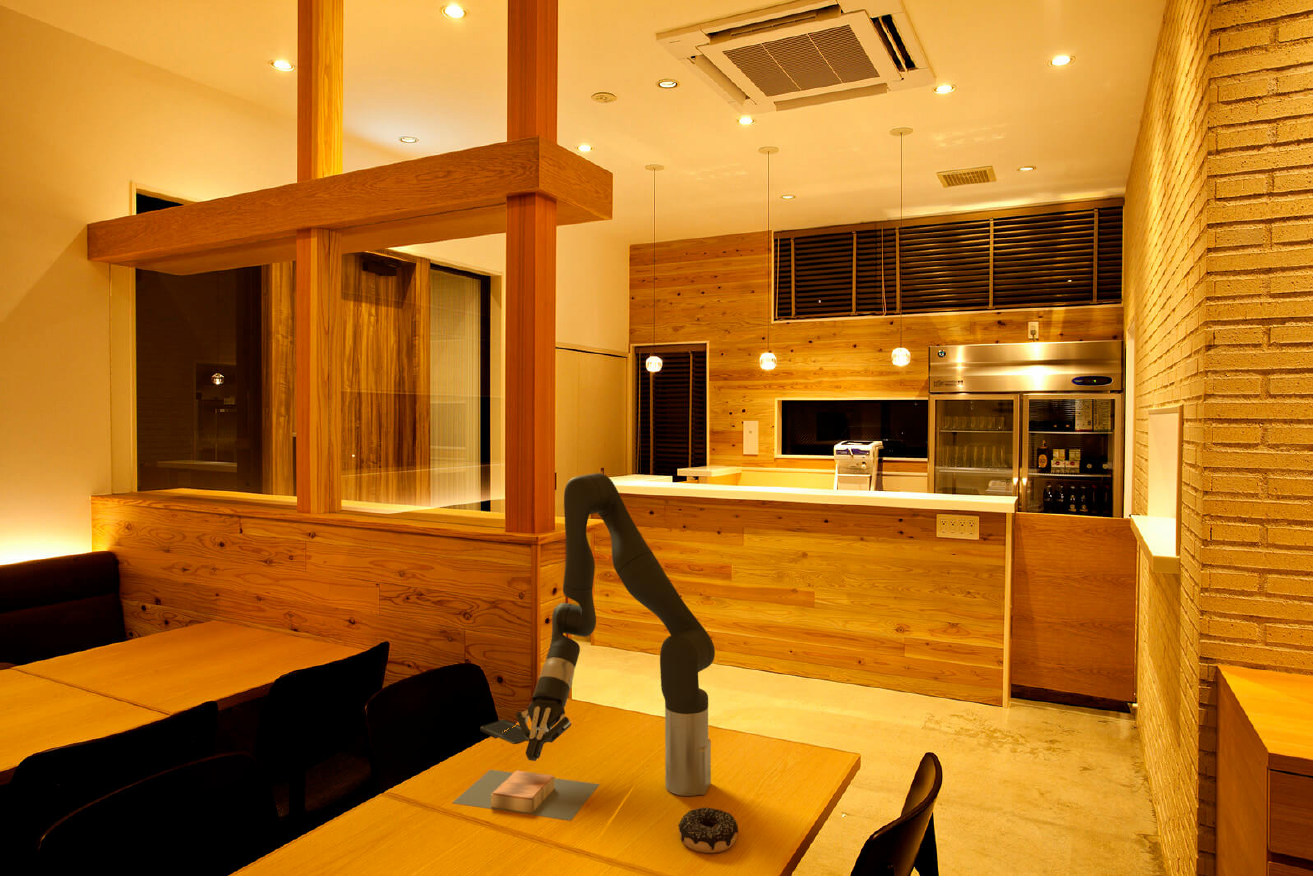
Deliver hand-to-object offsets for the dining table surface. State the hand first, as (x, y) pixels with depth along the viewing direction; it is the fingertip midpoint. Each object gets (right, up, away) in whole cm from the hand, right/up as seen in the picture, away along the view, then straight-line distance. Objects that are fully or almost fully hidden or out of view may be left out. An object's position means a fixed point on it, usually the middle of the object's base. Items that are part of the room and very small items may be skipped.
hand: (531, 759), depth 164 cm
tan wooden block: (0, -5, +2) cm, 5 cm away
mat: (-1, -7, -2) cm, 7 cm away
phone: (-11, -7, +31) cm, 34 cm away
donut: (+36, -7, -19) cm, 41 cm away
